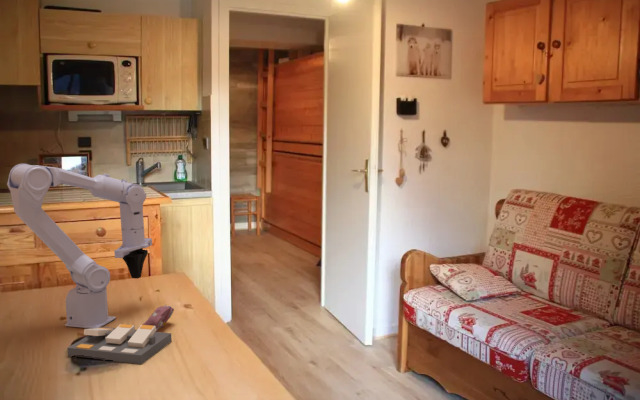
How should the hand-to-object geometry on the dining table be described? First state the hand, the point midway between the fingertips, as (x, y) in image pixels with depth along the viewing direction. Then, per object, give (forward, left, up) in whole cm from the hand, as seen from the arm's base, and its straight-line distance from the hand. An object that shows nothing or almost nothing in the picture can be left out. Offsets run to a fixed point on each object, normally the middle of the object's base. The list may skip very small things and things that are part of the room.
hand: (136, 277), depth 153 cm
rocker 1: (+5, -24, -6) cm, 25 cm away
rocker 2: (+10, -24, -6) cm, 27 cm away
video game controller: (+12, -11, -10) cm, 19 cm away
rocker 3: (+16, -24, -6) cm, 29 cm away
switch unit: (+10, -24, -9) cm, 28 cm away
